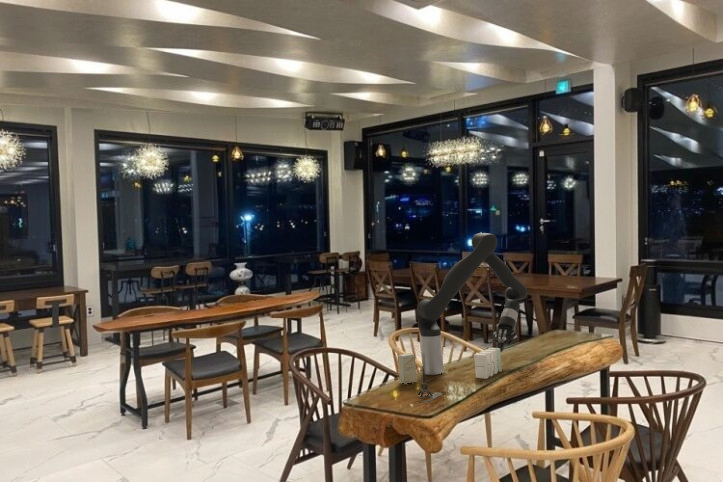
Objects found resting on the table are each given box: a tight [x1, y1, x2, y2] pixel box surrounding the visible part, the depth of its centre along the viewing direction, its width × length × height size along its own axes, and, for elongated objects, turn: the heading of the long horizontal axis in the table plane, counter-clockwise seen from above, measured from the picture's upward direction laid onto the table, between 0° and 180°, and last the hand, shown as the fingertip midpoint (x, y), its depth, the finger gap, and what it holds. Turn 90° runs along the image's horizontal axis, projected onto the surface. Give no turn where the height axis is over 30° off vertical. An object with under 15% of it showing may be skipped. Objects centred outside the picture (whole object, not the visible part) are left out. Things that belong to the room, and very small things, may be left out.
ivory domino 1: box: [473, 353, 490, 379], centre depth 241 cm, size 2×5×10 cm, turn 52°
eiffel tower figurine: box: [416, 365, 443, 403], centre depth 220 cm, size 15×10×13 cm
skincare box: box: [397, 352, 418, 385], centre depth 242 cm, size 6×4×12 cm
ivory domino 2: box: [478, 351, 494, 377], centre depth 245 cm, size 2×5×10 cm, turn 52°
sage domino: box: [487, 347, 503, 373], centre depth 252 cm, size 2×5×10 cm, turn 53°
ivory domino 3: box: [483, 349, 498, 375], centre depth 248 cm, size 2×5×10 cm, turn 52°
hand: (499, 351), depth 256 cm, fingers closed
